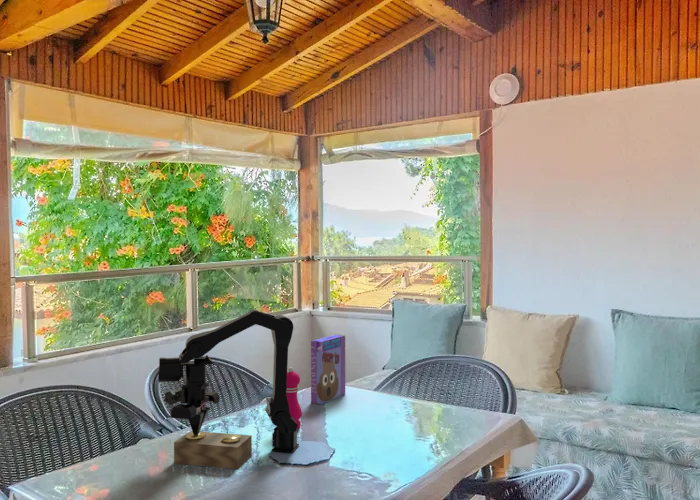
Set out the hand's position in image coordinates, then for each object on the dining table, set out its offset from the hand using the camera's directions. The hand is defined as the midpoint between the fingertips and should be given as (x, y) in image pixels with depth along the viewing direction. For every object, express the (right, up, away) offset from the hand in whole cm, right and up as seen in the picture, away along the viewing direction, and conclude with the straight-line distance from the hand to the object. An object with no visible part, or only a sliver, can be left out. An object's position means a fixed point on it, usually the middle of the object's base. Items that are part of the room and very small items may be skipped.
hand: (195, 434), depth 170 cm
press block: (+5, -7, -1) cm, 9 cm away
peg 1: (0, -7, 0) cm, 7 cm away
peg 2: (+11, -7, -2) cm, 13 cm away
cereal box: (+36, -6, +64) cm, 73 cm away
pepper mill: (+24, -7, +28) cm, 38 cm away
